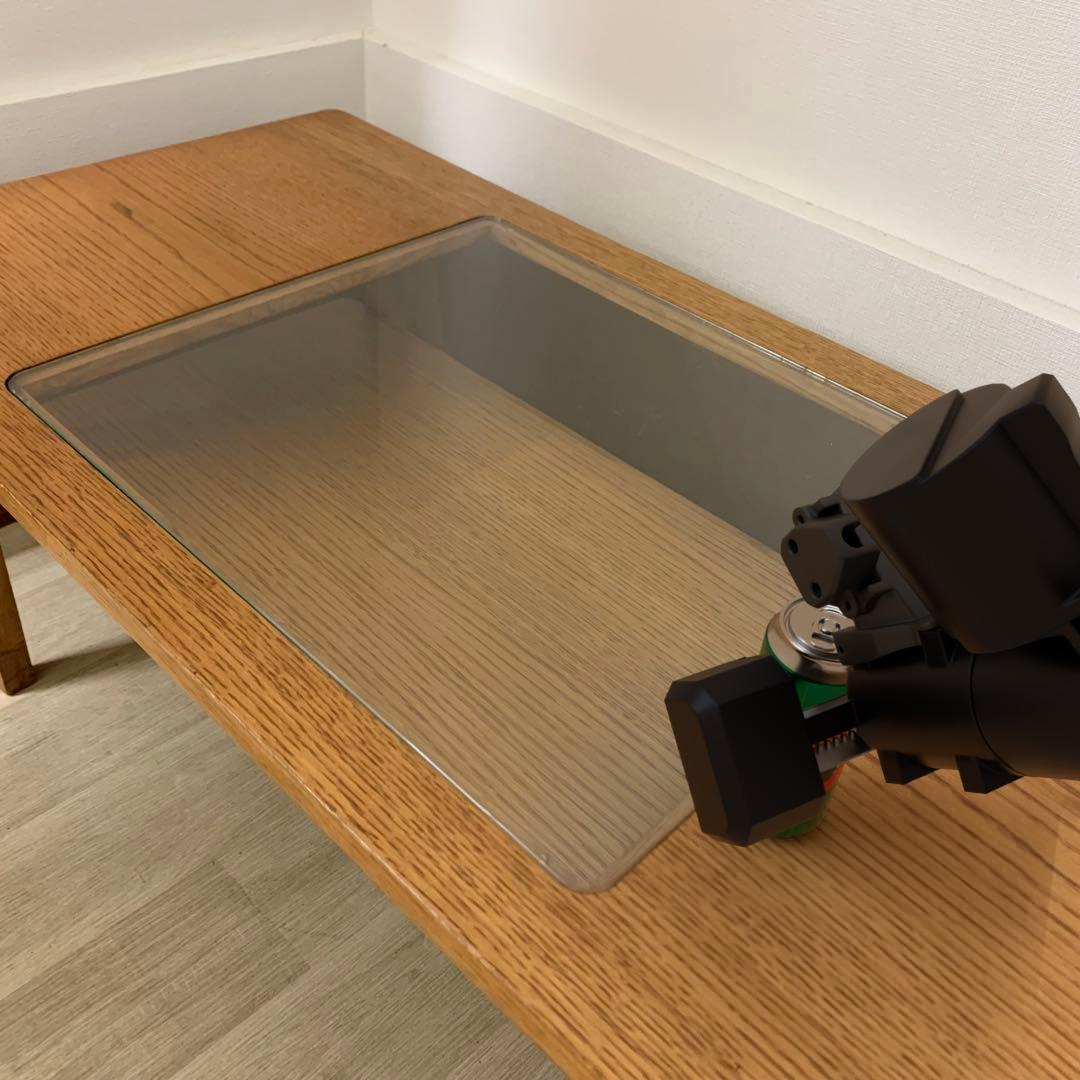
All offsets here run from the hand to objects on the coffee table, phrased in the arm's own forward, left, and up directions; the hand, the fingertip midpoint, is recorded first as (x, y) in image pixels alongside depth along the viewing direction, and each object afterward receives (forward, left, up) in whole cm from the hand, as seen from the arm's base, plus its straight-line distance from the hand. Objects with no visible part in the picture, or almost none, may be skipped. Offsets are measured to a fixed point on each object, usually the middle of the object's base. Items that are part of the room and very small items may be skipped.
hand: (773, 691), depth 52 cm
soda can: (-2, 0, -7) cm, 7 cm away
